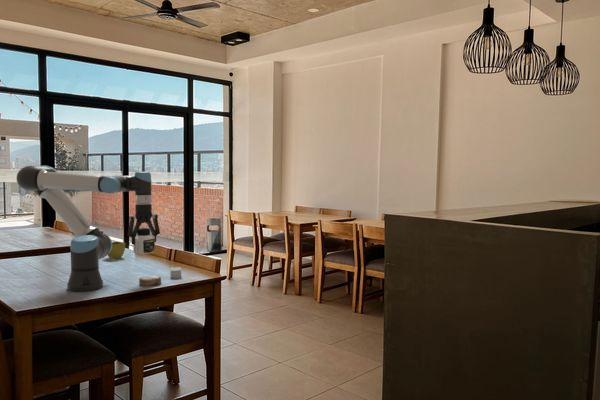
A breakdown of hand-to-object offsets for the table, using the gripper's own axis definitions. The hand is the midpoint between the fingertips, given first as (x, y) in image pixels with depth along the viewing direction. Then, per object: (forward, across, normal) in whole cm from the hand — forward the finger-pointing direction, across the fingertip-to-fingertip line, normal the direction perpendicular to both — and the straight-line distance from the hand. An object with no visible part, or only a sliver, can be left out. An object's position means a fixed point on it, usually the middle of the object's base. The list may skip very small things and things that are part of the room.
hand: (144, 249), depth 233 cm
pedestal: (+15, 0, -7) cm, 17 cm away
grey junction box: (+16, +16, -1) cm, 23 cm away
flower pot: (+16, +12, +64) cm, 67 cm away
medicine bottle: (+2, 0, 0) cm, 2 cm away
